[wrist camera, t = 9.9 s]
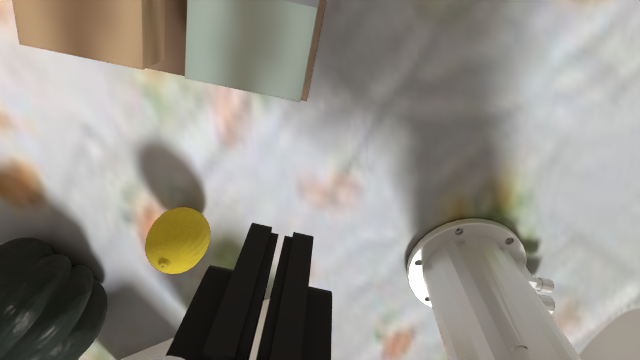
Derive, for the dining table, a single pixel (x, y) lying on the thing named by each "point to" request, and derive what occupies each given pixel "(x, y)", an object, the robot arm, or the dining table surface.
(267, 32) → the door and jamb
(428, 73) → the dining table surface
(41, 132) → the dining table surface
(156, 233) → the lemon
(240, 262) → the robot arm
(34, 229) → the dining table surface
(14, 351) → the squash
